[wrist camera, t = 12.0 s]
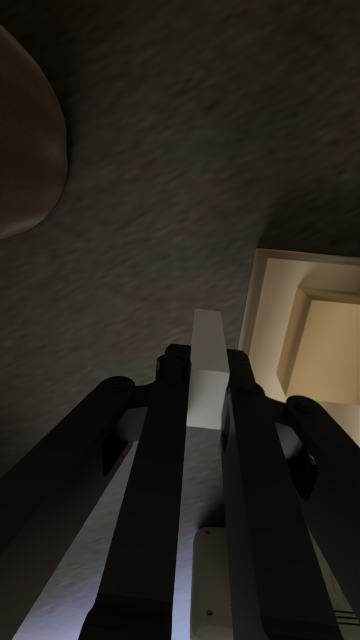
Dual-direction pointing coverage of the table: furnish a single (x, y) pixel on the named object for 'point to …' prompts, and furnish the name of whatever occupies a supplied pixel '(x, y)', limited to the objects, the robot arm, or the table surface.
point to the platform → (274, 312)
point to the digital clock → (215, 599)
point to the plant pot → (28, 141)
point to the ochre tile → (322, 347)
